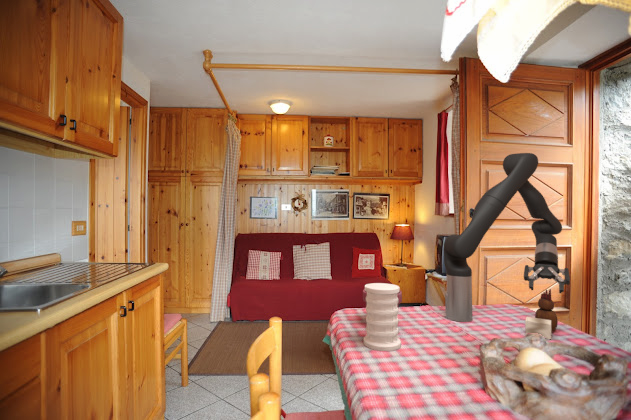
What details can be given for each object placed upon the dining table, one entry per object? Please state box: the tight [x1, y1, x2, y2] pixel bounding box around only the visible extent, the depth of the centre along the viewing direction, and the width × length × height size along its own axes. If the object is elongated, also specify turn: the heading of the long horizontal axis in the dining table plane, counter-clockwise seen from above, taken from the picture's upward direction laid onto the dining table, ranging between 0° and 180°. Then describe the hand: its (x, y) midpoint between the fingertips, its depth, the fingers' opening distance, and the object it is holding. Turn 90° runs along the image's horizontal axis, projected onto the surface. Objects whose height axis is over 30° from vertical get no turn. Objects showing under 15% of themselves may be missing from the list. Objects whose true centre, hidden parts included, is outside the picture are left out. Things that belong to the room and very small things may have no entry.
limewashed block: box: [524, 316, 552, 340], centre depth 109 cm, size 7×6×5 cm
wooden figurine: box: [534, 288, 559, 333], centre depth 114 cm, size 7×6×15 cm
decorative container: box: [363, 282, 402, 352], centre depth 102 cm, size 12×12×18 cm
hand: (546, 290), depth 119 cm, fingers open, 8 cm apart
